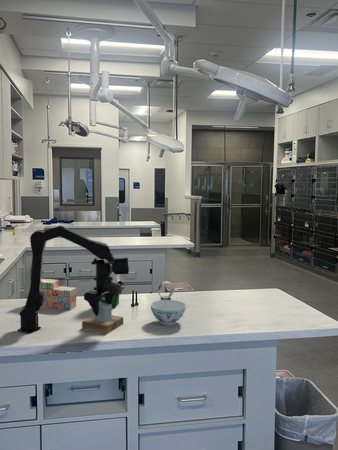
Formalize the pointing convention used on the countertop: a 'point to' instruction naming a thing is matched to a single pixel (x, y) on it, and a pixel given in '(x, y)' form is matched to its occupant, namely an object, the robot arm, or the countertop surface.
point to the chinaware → (168, 311)
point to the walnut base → (102, 324)
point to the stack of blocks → (58, 295)
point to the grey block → (104, 312)
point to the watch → (162, 289)
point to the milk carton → (116, 298)
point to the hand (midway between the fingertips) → (103, 312)
